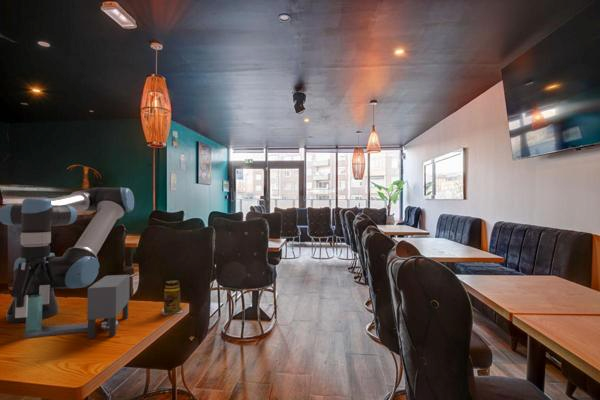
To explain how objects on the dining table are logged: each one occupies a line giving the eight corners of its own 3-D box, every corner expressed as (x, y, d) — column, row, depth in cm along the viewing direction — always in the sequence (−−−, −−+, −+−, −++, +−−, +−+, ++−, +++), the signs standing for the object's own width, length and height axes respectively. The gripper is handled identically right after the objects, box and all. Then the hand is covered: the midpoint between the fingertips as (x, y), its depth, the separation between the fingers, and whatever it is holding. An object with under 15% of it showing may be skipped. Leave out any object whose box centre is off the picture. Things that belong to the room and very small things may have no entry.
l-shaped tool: (23, 338, 97) (24, 298, 98) (32, 331, 102) (33, 294, 102) (89, 331, 102) (89, 294, 103) (94, 326, 107) (95, 290, 108)
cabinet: (104, 318, 114) (105, 275, 114) (128, 316, 116) (129, 274, 117) (86, 339, 97) (87, 288, 97) (115, 336, 99) (116, 286, 99)
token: (103, 325, 108) (103, 320, 108) (119, 324, 110) (119, 319, 110) (99, 331, 103) (99, 325, 103) (115, 329, 105) (115, 324, 105)
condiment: (162, 315, 118) (163, 284, 118) (161, 308, 126) (162, 279, 126) (182, 312, 121) (183, 282, 122) (180, 306, 129) (181, 278, 129)
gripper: (41, 241, 111) (39, 300, 111) (-4, 250, 88) (-7, 325, 87) (65, 241, 114) (63, 298, 113) (28, 249, 90) (25, 322, 89)
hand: (33, 310), depth 100 cm, fingers open, 13 cm apart
